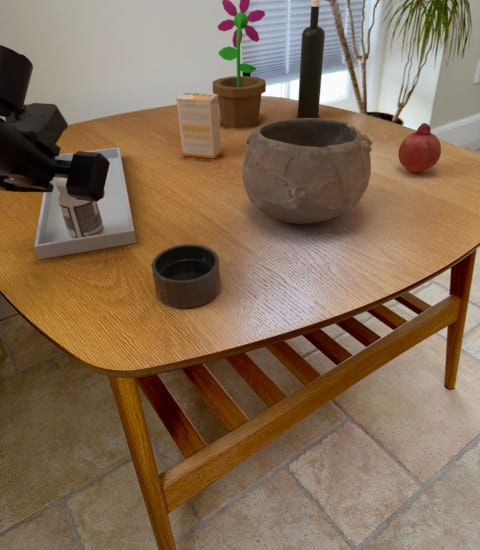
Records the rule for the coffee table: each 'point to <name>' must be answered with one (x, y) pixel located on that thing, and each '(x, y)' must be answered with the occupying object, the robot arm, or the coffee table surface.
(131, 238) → the serving dish
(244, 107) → the flowerpot
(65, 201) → the pill bottle
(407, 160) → the fruit
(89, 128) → the coffee table surface
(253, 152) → the clay pot
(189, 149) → the supplement box
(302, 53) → the wine bottle
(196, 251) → the charcoal bowl
